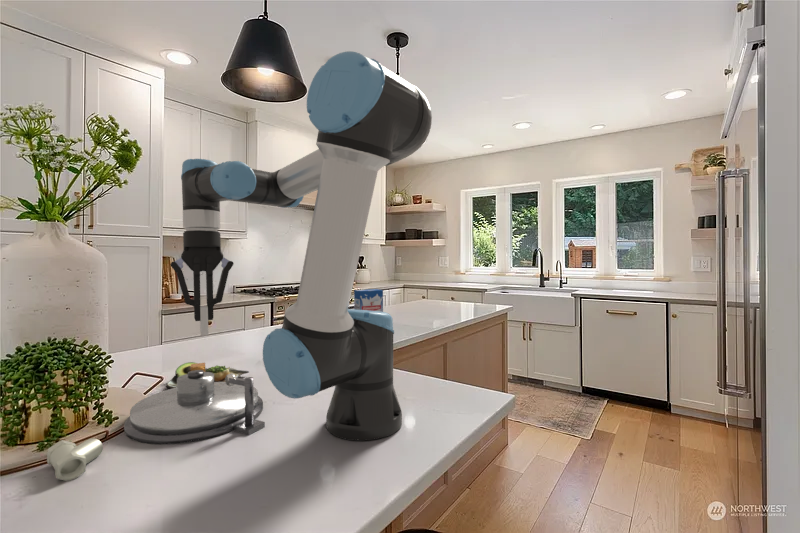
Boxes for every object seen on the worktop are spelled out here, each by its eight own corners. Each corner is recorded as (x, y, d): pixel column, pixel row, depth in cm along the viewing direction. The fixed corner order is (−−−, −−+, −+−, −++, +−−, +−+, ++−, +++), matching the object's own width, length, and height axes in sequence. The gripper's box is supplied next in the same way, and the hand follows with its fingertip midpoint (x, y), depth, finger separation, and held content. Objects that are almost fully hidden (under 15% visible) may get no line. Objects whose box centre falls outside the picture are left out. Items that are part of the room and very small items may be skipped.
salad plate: (251, 369, 119) (251, 354, 119) (245, 389, 102) (245, 371, 102) (180, 375, 114) (179, 359, 114) (160, 396, 97) (160, 377, 97)
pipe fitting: (97, 454, 69) (46, 467, 64) (99, 431, 69) (48, 442, 64) (111, 470, 64) (56, 485, 59) (112, 446, 64) (58, 459, 59)
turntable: (265, 419, 79) (265, 384, 79) (119, 445, 68) (118, 405, 68) (251, 384, 101) (251, 356, 100) (139, 399, 90) (138, 369, 90)
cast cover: (214, 402, 83) (214, 374, 83) (176, 408, 80) (175, 378, 80) (214, 392, 89) (213, 365, 89) (178, 397, 86) (178, 369, 86)
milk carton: (360, 342, 155) (360, 291, 154) (354, 339, 160) (354, 289, 160) (383, 339, 160) (383, 290, 159) (376, 336, 165) (376, 288, 165)
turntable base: (271, 426, 79) (271, 421, 79) (111, 456, 67) (111, 450, 67) (255, 387, 102) (255, 383, 102) (134, 404, 90) (134, 400, 90)
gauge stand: (264, 426, 79) (264, 375, 79) (248, 435, 75) (248, 381, 75) (235, 419, 82) (234, 370, 82) (218, 426, 79) (218, 375, 79)
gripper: (231, 232, 96) (233, 329, 96) (168, 230, 89) (171, 335, 90) (235, 230, 89) (237, 334, 90) (168, 228, 83) (170, 341, 83)
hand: (204, 334), depth 90 cm, fingers closed
